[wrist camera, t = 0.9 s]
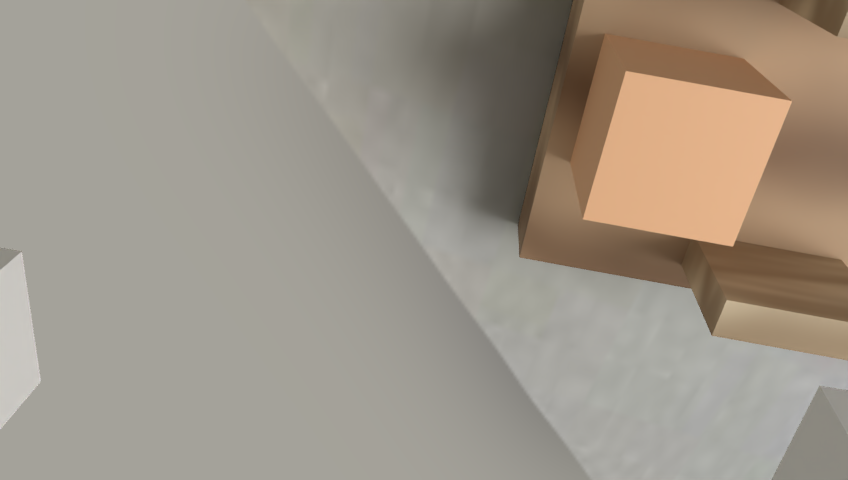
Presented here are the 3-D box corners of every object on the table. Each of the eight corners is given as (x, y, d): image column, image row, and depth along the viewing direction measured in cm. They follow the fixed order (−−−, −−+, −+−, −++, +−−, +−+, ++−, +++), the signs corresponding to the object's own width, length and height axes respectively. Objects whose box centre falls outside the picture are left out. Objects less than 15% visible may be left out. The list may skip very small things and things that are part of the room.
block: (604, 33, 27) (626, 70, 22) (743, 58, 27) (791, 101, 22) (570, 162, 29) (582, 219, 25) (697, 185, 29) (733, 246, 24)
